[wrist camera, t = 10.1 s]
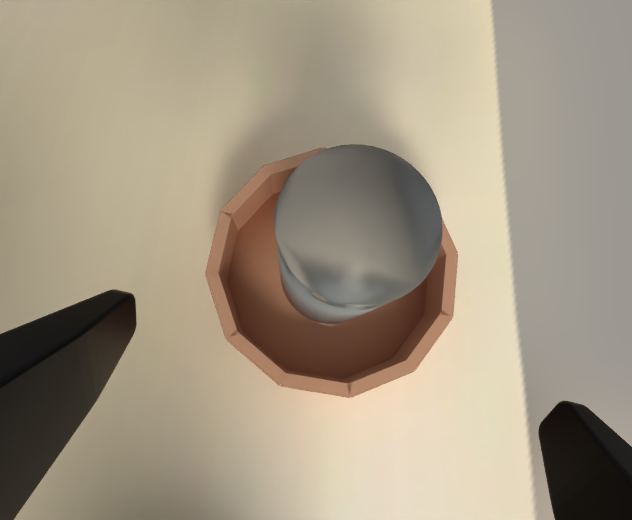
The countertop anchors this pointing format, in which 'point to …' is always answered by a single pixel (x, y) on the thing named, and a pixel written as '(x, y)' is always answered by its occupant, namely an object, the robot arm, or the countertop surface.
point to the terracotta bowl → (300, 332)
